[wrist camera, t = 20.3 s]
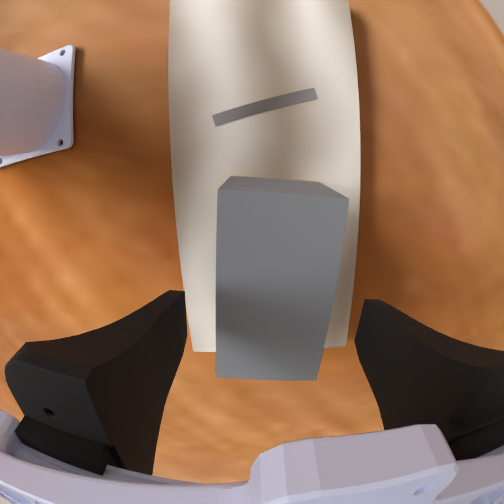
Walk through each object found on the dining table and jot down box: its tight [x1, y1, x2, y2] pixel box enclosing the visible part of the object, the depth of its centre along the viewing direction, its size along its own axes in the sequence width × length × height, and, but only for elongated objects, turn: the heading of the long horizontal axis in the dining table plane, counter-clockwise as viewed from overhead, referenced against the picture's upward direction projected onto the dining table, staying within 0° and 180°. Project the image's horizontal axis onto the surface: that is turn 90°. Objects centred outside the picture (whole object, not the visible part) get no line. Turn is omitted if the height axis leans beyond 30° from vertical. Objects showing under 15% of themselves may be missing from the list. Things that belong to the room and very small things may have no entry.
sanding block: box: [216, 176, 349, 380], centre depth 15 cm, size 5×9×6 cm, turn 177°
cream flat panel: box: [168, 0, 360, 352], centre depth 17 cm, size 11×24×1 cm, turn 2°
